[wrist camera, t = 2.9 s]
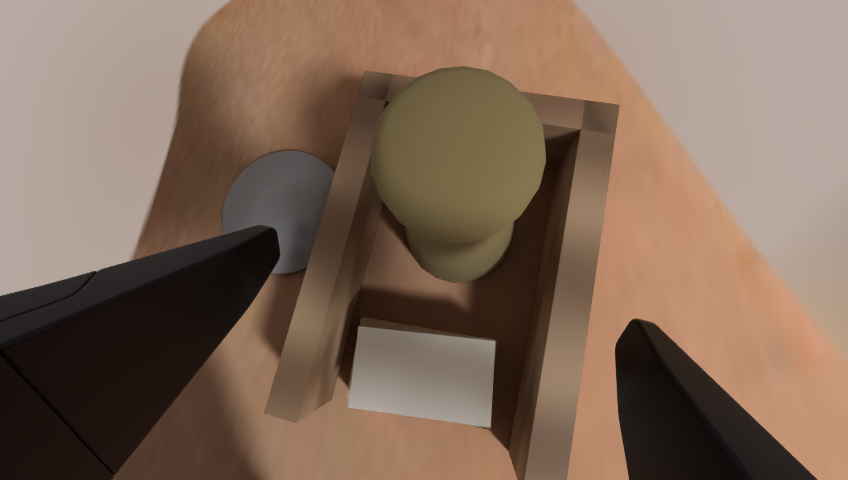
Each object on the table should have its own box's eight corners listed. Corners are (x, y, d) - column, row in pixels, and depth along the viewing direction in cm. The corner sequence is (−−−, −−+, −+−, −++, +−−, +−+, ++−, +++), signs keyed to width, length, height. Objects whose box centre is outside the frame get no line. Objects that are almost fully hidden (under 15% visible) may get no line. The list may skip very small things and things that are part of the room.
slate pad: (351, 265, 20) (348, 264, 19) (226, 282, 20) (221, 281, 20) (342, 145, 21) (339, 141, 21) (227, 164, 22) (222, 161, 22)
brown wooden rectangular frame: (539, 460, 17) (562, 505, 13) (305, 391, 19) (263, 413, 15) (588, 146, 20) (619, 104, 16) (382, 114, 21) (365, 70, 18)
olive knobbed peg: (517, 184, 20) (583, 30, 9) (508, 289, 18) (572, 258, 8) (413, 175, 20) (361, 24, 10) (399, 276, 19) (320, 230, 9)
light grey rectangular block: (484, 419, 18) (489, 440, 15) (354, 391, 19) (334, 406, 16) (494, 337, 18) (501, 341, 15) (369, 315, 19) (352, 315, 16)
